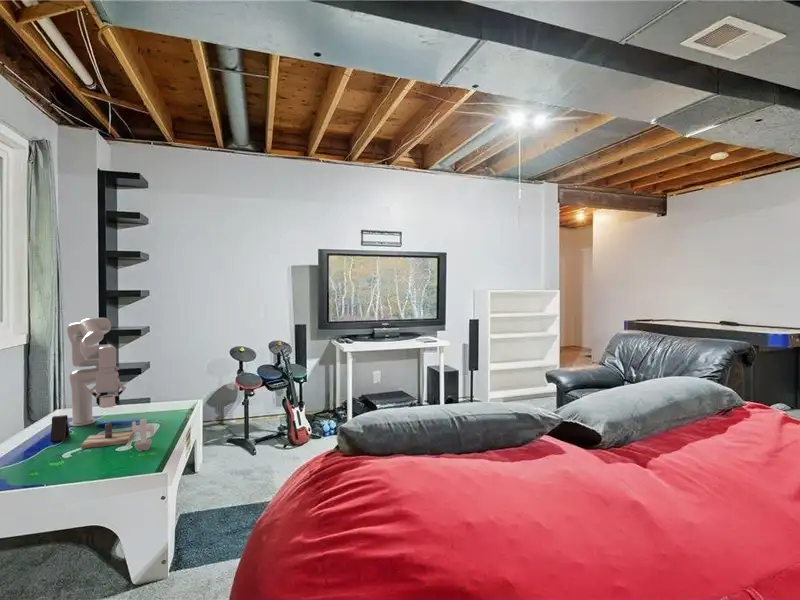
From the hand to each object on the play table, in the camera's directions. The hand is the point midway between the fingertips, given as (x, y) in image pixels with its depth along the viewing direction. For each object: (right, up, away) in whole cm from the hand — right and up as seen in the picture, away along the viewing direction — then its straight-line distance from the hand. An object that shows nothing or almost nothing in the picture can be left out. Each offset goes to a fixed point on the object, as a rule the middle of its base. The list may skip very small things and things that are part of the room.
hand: (108, 403), depth 224 cm
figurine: (+25, -20, -10) cm, 33 cm away
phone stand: (-28, -20, +4) cm, 35 cm away
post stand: (0, -20, +1) cm, 20 cm away
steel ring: (0, -1, 0) cm, 1 cm away
